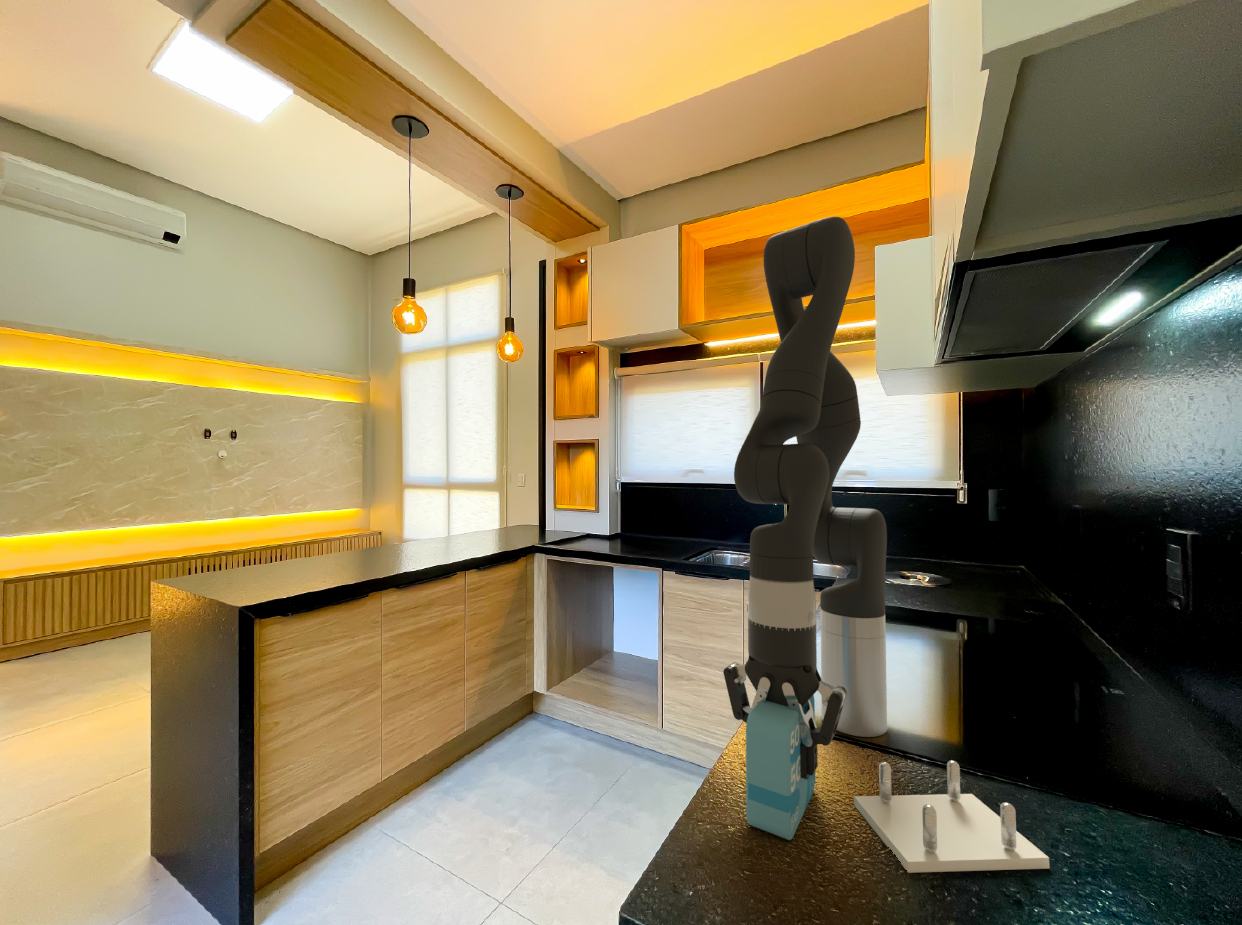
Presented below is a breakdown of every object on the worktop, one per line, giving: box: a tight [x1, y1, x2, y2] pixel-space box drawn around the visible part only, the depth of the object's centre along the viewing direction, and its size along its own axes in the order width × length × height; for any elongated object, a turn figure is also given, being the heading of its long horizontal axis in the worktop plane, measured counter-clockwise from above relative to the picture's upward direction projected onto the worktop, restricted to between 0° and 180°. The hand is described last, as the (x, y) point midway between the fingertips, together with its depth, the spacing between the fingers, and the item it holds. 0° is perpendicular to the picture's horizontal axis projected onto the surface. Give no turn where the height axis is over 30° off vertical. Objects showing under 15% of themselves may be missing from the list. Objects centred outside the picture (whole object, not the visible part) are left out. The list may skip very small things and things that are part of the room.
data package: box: [745, 694, 816, 841], centre depth 57 cm, size 12×4×12 cm, turn 146°
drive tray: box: [853, 793, 1050, 874], centre depth 53 cm, size 10×14×1 cm
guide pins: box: [878, 759, 1017, 853], centre depth 53 cm, size 9×9×4 cm
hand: (782, 766), depth 57 cm, fingers closed on data package, 4 cm apart
